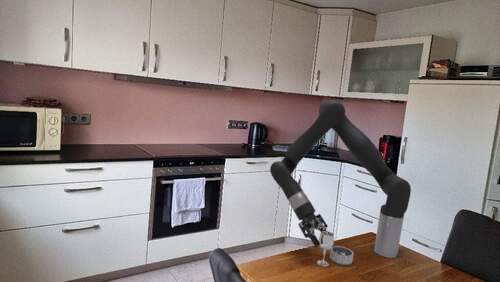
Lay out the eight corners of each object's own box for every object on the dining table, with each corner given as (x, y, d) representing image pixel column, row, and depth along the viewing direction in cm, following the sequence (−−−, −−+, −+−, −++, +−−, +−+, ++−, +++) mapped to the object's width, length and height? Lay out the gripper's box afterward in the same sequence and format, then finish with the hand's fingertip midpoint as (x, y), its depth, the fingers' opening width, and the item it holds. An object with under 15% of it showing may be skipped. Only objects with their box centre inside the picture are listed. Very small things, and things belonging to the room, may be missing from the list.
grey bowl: (331, 253, 138) (333, 244, 138) (353, 259, 135) (354, 250, 134) (327, 262, 130) (328, 252, 130) (350, 268, 127) (351, 258, 126)
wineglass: (330, 268, 126) (335, 237, 124) (315, 265, 127) (319, 235, 125) (330, 261, 131) (334, 232, 130) (315, 258, 132) (319, 229, 131)
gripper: (298, 204, 127) (322, 243, 121) (316, 197, 138) (339, 234, 132) (285, 213, 131) (307, 252, 125) (304, 206, 142) (325, 242, 136)
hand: (323, 242), depth 128 cm, fingers open, 8 cm apart
